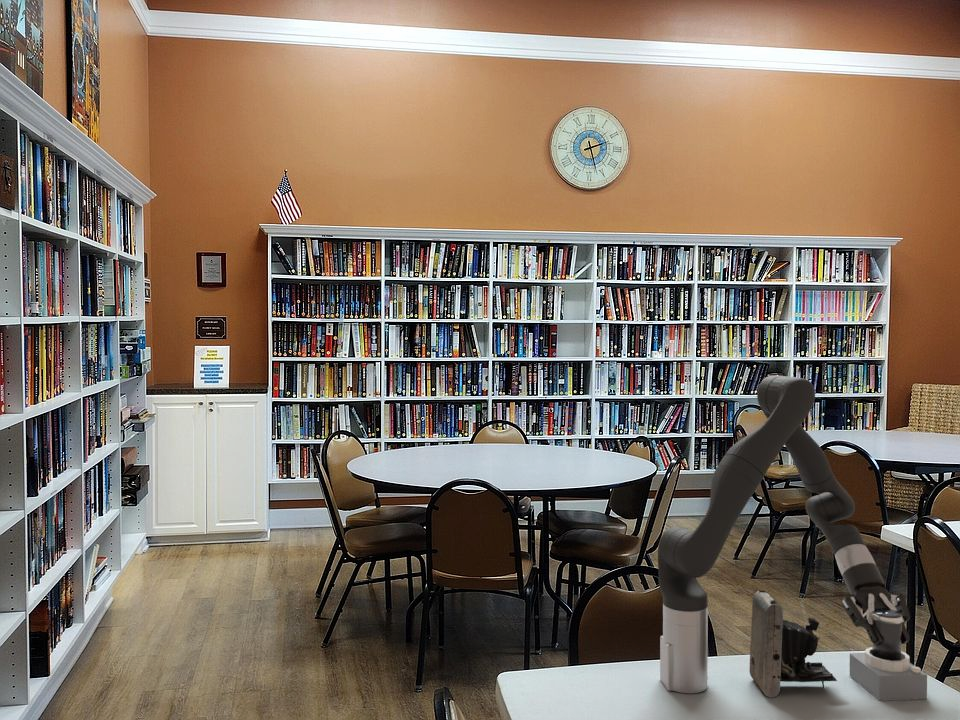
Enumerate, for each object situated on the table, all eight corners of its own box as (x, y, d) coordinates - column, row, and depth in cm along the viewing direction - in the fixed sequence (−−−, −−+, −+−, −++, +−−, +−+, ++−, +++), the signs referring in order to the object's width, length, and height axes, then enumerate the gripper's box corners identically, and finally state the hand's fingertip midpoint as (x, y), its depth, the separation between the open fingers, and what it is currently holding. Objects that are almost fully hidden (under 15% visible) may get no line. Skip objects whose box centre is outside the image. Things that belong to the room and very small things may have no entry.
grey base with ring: (879, 700, 166) (879, 666, 166) (849, 676, 178) (849, 644, 178) (926, 699, 167) (927, 665, 167) (894, 674, 179) (894, 643, 179)
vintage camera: (838, 701, 167) (842, 604, 167) (762, 698, 168) (765, 601, 167) (819, 682, 177) (823, 590, 177) (747, 679, 177) (751, 587, 177)
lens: (881, 665, 170) (881, 617, 169) (866, 654, 175) (867, 608, 175) (907, 664, 170) (907, 616, 170) (892, 654, 176) (892, 607, 175)
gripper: (835, 562, 178) (868, 637, 167) (896, 560, 180) (933, 633, 169) (822, 579, 184) (853, 653, 172) (881, 576, 186) (915, 649, 174)
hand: (892, 642), depth 171 cm, fingers closed on lens, 5 cm apart
